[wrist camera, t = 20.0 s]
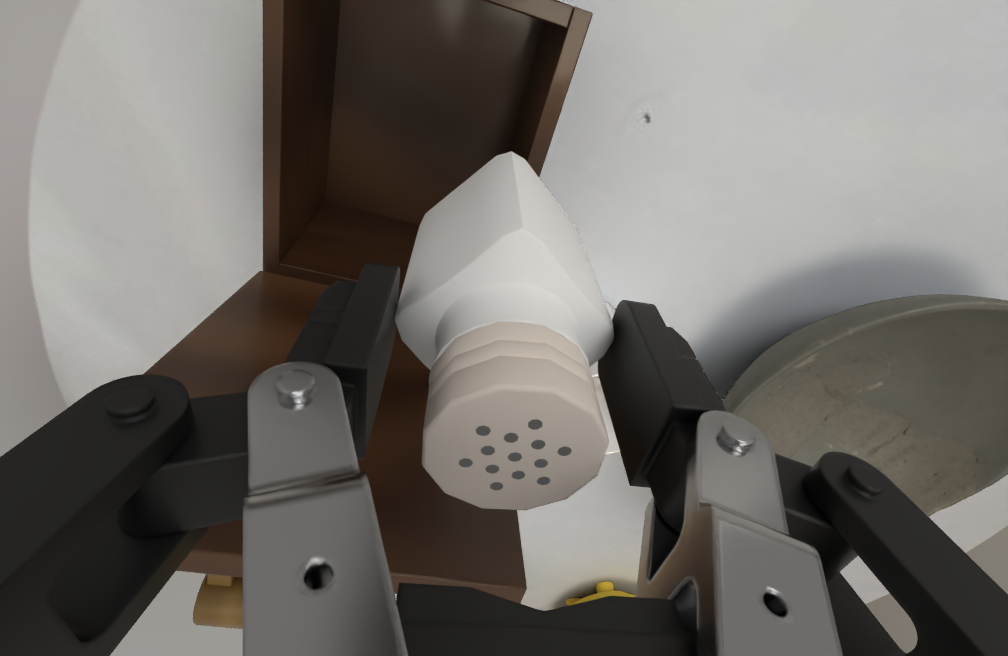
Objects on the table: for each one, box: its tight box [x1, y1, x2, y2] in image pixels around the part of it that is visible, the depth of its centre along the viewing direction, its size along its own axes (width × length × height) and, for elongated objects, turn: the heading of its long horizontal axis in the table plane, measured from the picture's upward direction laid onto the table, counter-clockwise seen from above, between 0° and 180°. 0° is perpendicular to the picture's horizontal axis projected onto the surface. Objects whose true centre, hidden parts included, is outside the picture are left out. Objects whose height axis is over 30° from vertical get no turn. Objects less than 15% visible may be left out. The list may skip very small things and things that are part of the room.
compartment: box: [263, 0, 593, 301], centre depth 26 cm, size 16×13×10 cm
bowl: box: [722, 294, 1008, 517], centre depth 41 cm, size 27×28×8 cm
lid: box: [143, 271, 527, 629], centre depth 20 cm, size 16×13×6 cm
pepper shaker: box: [395, 151, 614, 510], centre depth 12 cm, size 4×4×10 cm
